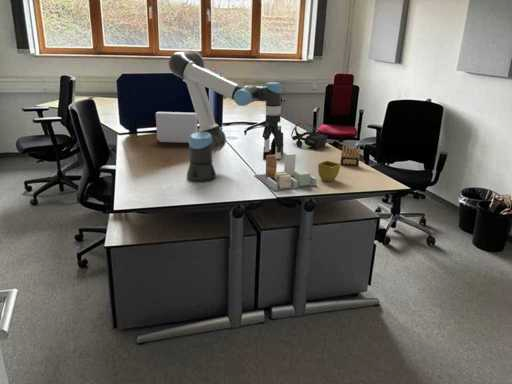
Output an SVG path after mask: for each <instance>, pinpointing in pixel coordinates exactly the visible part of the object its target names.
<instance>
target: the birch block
mask: <svg viewBox="0 0 512 384" xmlns="http://www.w3.org/2000/svg"><path fill="white" fill-rule="evenodd" d="M277 163H278V160H277V159H276V158H275V155H266V159H265V174H266V178H267V177H270V178H272V179H273V180H275V182H276V183H278V188H279V189H282V188H290V187H291V176H290V175H289V174H287V173H286V172H285V173H277V168H278V167H277ZM274 178H275V179H274Z"/></svg>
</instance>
